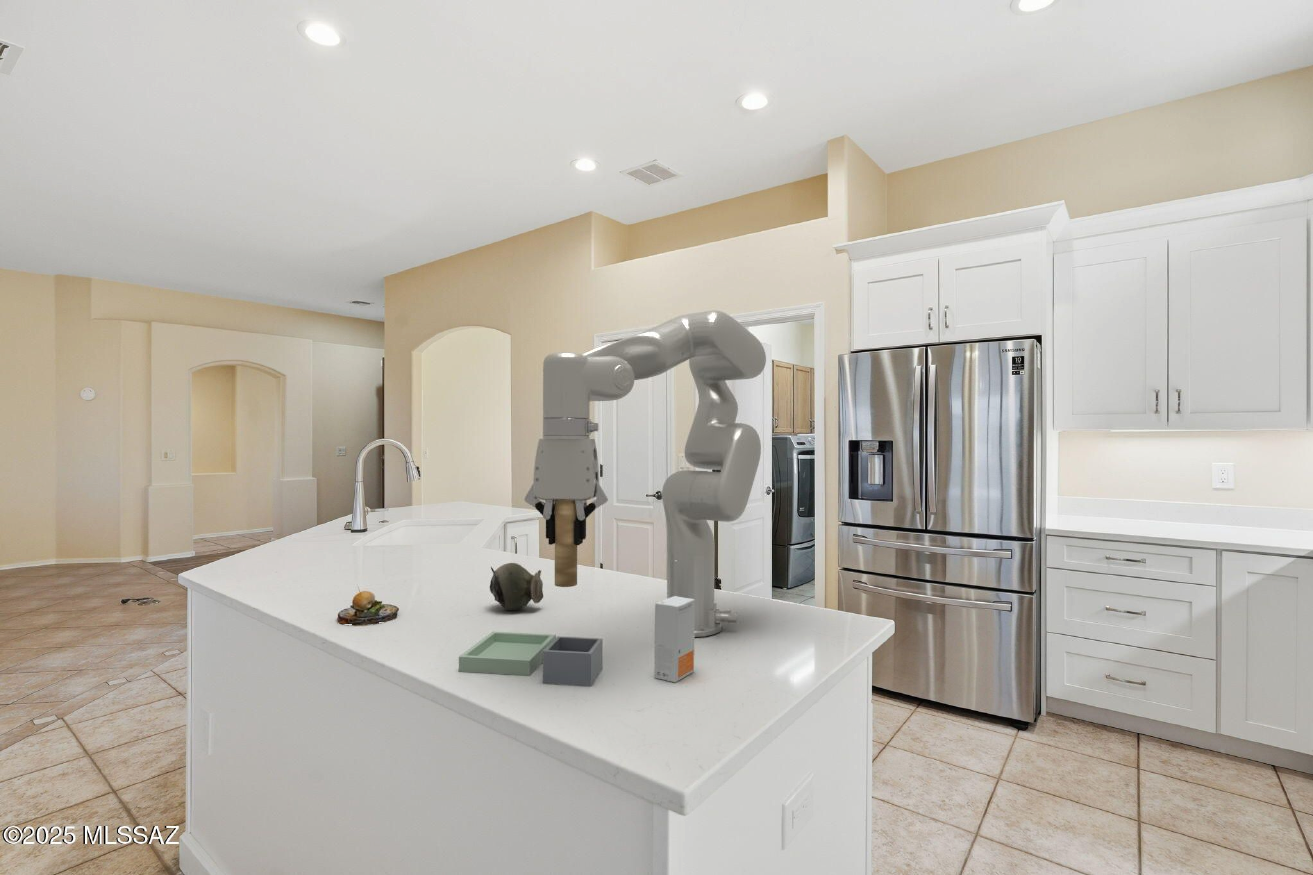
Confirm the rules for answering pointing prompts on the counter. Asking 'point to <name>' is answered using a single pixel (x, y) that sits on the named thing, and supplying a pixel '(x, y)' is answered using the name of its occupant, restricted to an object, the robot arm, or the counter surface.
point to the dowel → (565, 544)
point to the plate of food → (367, 611)
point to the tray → (506, 653)
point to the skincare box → (674, 638)
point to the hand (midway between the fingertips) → (565, 542)
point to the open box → (572, 661)
